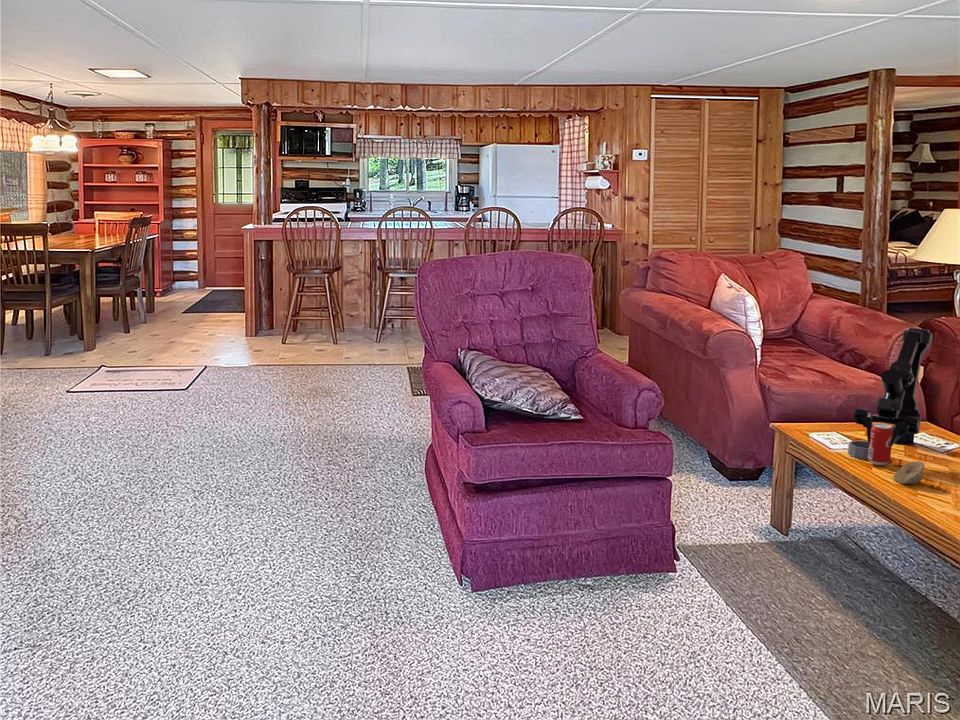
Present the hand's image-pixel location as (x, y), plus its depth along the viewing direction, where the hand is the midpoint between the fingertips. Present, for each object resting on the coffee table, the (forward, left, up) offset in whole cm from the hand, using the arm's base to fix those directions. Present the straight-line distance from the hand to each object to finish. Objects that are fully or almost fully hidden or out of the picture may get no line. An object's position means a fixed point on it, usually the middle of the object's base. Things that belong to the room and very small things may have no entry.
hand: (879, 443), depth 278 cm
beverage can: (-1, -1, -7) cm, 7 cm away
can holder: (+2, -10, -7) cm, 12 cm away
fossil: (-5, +16, -7) cm, 18 cm away
